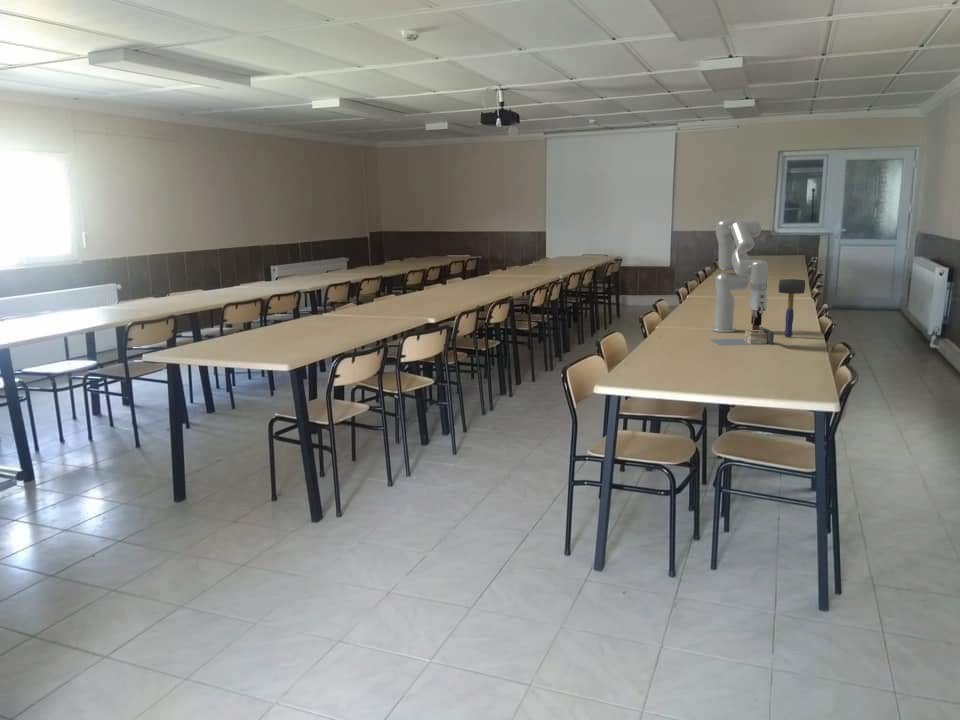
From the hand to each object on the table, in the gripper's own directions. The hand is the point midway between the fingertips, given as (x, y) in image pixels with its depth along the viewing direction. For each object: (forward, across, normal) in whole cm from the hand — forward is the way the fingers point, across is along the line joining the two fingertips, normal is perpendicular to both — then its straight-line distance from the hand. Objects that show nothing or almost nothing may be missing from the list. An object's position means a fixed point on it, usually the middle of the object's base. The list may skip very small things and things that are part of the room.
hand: (756, 324), depth 344 cm
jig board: (+10, 0, +7) cm, 12 cm away
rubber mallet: (+10, +18, -24) cm, 32 cm away
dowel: (+3, 0, 0) cm, 3 cm away
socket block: (+9, -1, 0) cm, 9 cm away
